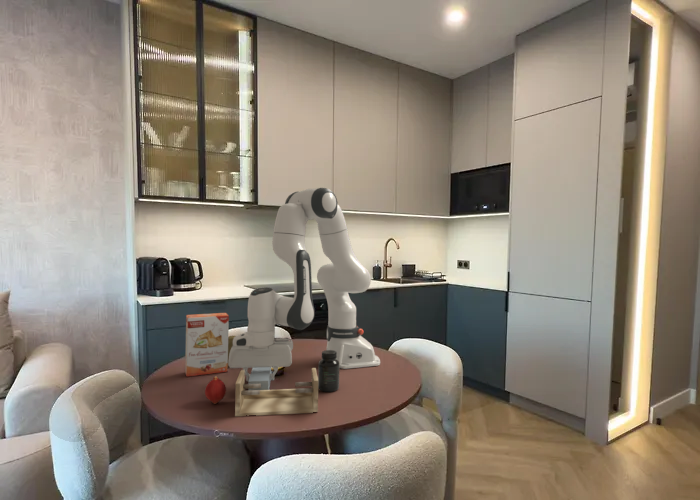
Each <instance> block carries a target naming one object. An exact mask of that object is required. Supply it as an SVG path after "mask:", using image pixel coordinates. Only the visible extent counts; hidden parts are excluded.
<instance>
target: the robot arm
mask: <svg viewBox="0 0 700 500" xmlns="http://www.w3.org/2000/svg"><path fill="white" fill-rule="evenodd" d="M338 203H339V202H338V199H337V196H336V194H335V193H334V191H332V190H331V189H330V188H325V187H316V188H307V189H303V190H300V191H295V192H293V193H291V194H289V195H288V197H287V198H286V200H285V203H283V204H281V206H280V207H279V208H278V210H277V213H276V217H275V221H274V227H273V233H272V245H271V246H272V250H273V252H274V254H275V255H276V257H277V258H279V259H280V260H281V261H283V262H284V263H286V264H287V265H288V266H289V267H290V269H291V270H292V273H293V289H294V290H293V291H294V292H293V293H294V295H293V297H292V296H291V297H290V296H284V295H282V294H280V293H277V292H276V291H275V290H274V288H272V287H271V288H270V287H259V288H256V289H253V290H252V291H251V292H250V293H249V296H248V301H247V320H248V325H247V329H246V330H247V331H246V332H244V333H240V334H237V335H234V336H235V337H234V339H233V346H232V348H231V350H230V353H229V360H228V366H229V367H228V368H230V369H242V370H245V377H246V382H248V381H249V378H250V374H251V373H249V372H248V369H249V368H250V369H252V368H257V367H271V368H273V371H272V372H271V374H270V380H271V381H275V375H276V373H277V372H278V370H279V368H280V367H281V368H282V367H283V368H287V367H290V366H291V365H292V364H293V356H292V355H293V354H292V351H293V349H294V342H293V340H292V339H290V338H289V337H276V325H281V326H285V327H290V328H293V329H295V330H297V331H302V330H303V331H304V330H305V329H306V328H307V327H309V326H310V325H311V324H312V322H313V320H314V319H315V306H314V300H313V287H312V285H313V283H312V280H313V279H312V264H311V263H312V262H311V257H310V254H309V253H308V252H307V247H306V228H307V227H306V226H307V222H308V221H309V220H310V221H311V220H315V222H316V223H317V227H318V228H317V229H318V230H317V231H318V234H319V239H320V243H321V248H322V252H323V254H324V256H325V257H327V258H328V259H329V261H331V263H327V264H324V265H321V266H320V268H318V270H317V274H316V280H317V284H319V286H320V287H321V288H322V290H323V293H324V296H325V298H326V301H327V309H328V311H327V312H328V313H327V314H328V316H327V317H328V323H327V324H328V325H327V327H326V341H327V343H326V350H333V351H336V352H337V358H336V359H337V360H338V361H339V364H340V367H339V369H342V370H343V369H345V370H346V369H355V368H357V369H358V368H368V367H375V366H376V367H377V366H380V365H381V359H380V357H379V356H378V355H376V353H375V350H374V347H373V345H372V344H371V342H369V341H368V340H367V339H366V338H364V337H363V336H362V335H363V334H364V330H363V328H361V327H359V326H358V325H357V306H356V305H355V303H354V302H353V301H352V300H351V297H350V295H349V293H350V294H359V293H360V294H361V293H363V292H364V293H365V292H366V291H367V290H368V289H369V287H370V285H371V282H372V276H371V273H370V271H369V269H367V268H366V267H365V266H364V265H363V264H362V263H361V262H360V260H359V259H358V257H357V256H356V254H355V252H354V249H353V247H352V245H351V241H350V236H349V231H348V230H349V229H348V227H347V222H346V218H345V215H344V213H343V212H344V211H343V210H342V208H341V206H340V205H339V204H338Z"/></svg>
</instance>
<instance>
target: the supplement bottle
mask: <svg viewBox="0 0 700 500" xmlns="http://www.w3.org/2000/svg"><path fill="white" fill-rule="evenodd" d="M336 358H337V352H336V351H333V350H323V351H322V352H321V359H320V360H319V361H318V371H317V372H318V374H317V376H318V391H321V392H324V393H334V392H337V391H338V390H339V388H340V368H339V367H340V364H339V361H338V360H337V359H336ZM336 390H337V391H336ZM333 391H334V392H333Z"/></svg>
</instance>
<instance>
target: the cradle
mask: <svg viewBox="0 0 700 500" xmlns="http://www.w3.org/2000/svg"><path fill="white" fill-rule="evenodd" d="M317 372H318V371H317V368H316V367H312V368H311V381H298V382H297V381H296V382H295V383H294V385H295V387H297V388H295V387H294V388H282V389H281V388H280V389H269V390H246V389H248V388H261V384H248V383H245V377H246V375H245V370H243V369H241V370H240V371H239V373H238V377H237V378H236V381H235V392H234V393H235V394H234V395H235V399H234V400H235V404H234V406H235V407H234V409H235V410H234V411H235V412H234V417H249V415H256V416H273V415H275V416H276V415H293V414H295V415H296V414H313V412H319V388H318V374H317ZM298 387H299V388H298ZM300 387H301V388H300ZM302 387H304V388H302ZM305 387H306V388H305ZM246 415H247V416H246Z"/></svg>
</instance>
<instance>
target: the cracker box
mask: <svg viewBox="0 0 700 500" xmlns="http://www.w3.org/2000/svg"><path fill="white" fill-rule="evenodd" d="M185 317H186V318H185V362H184V363H185V364H184V365H185V366H184V368H185V369H184V371H185V375H186V377H195V376H202V375H203V376H205V375H212V374H220V373H227V372H228V368H229V367H228V337H229V328H230V327H229V323H230V322H229V321H230V317H229V314H228V313H227V312H218V313H216V312H215V313H199V314H197V313H196V314H186V315H185Z"/></svg>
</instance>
